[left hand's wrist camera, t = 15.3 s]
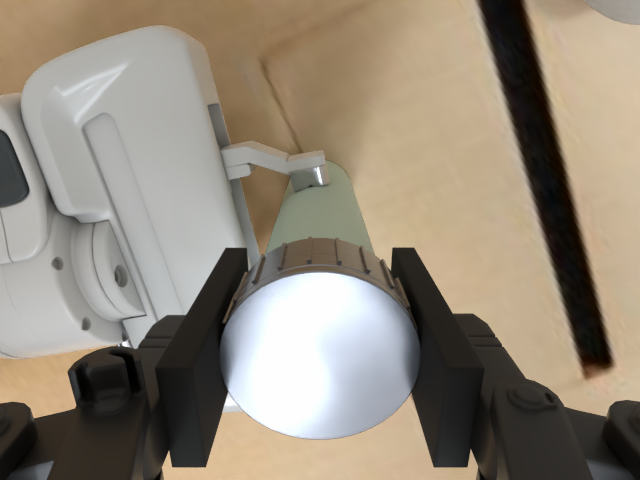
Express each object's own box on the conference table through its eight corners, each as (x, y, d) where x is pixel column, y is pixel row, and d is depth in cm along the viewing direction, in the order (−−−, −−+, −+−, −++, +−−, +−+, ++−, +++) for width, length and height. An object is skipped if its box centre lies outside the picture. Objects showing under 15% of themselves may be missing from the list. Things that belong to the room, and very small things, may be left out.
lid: (224, 373, 13) (206, 428, 11) (244, 219, 11) (226, 250, 9) (383, 396, 14) (394, 454, 11) (427, 251, 12) (451, 287, 10)
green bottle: (285, 160, 26) (231, 275, 10) (352, 158, 26) (404, 271, 10) (289, 223, 28) (246, 410, 12) (352, 222, 28) (396, 408, 12)
